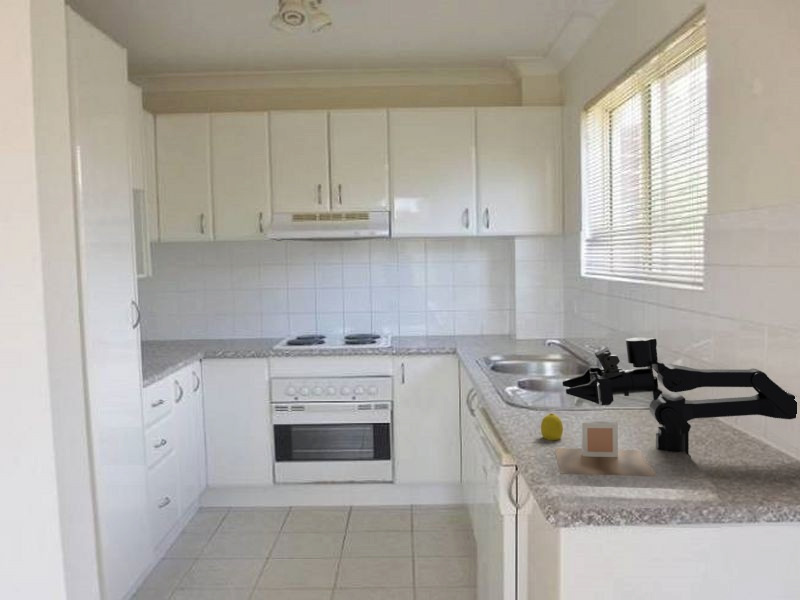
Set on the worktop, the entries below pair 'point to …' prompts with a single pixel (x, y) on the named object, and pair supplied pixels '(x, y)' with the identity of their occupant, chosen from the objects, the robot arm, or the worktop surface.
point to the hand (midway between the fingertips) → (564, 387)
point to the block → (599, 438)
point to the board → (603, 463)
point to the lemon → (551, 427)
